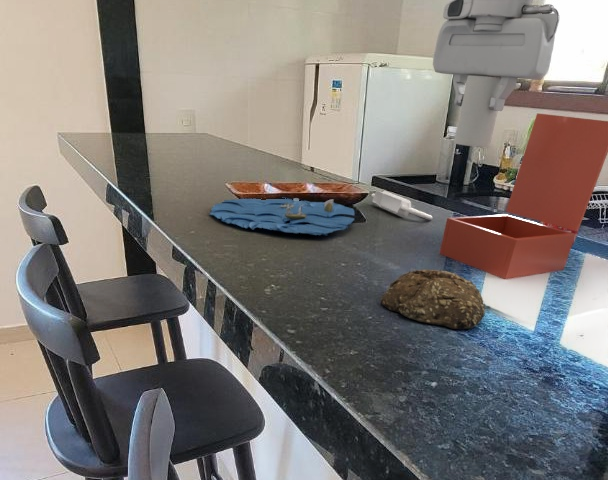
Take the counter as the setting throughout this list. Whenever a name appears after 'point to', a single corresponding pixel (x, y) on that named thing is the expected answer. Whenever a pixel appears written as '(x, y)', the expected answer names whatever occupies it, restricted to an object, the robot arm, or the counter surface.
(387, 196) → the white stepped rod
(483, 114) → the white cylinder
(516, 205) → the lid
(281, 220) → the sea diorama
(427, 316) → the bread roll
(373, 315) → the counter surface
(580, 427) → the counter surface
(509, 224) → the open terracotta box
